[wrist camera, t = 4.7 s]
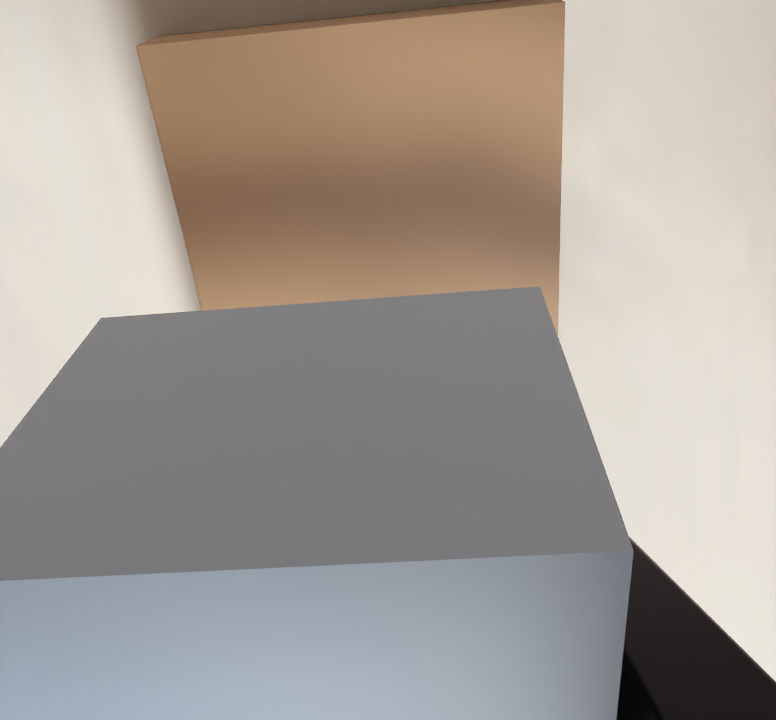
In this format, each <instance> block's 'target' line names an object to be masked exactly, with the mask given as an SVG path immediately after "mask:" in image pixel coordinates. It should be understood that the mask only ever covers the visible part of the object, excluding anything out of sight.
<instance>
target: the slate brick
mask: <svg viewBox="0 0 776 720" xmlns="http://www.w3.org/2000/svg"><path fill="white" fill-rule="evenodd" d="M633 552H634V550H633V548H632V545H631V542H630V539H629V536H628V533H627V531H626V528H625V525H624V522H623V519H622V516H621V514H620V511H619V508H618V505H617V502H616V500H615V497H614V494H613V491H612V488H611V485H610V483H609V480H608V477H607V474H606V471H605V469H604V466H603V463H602V460H601V457H600V454H599V452H598V449H597V446H596V443H595V440H594V437H593V435H592V432H591V429H590V426H589V423H588V421H587V418H586V415H585V412H584V409H583V406H582V404H581V401H580V398H579V395H578V392H577V390H576V387H575V384H574V381H573V378H572V375H571V373H570V370H569V367H568V364H567V361H566V358H565V356H564V353H563V350H562V347H561V344H560V342H559V339H558V336H557V333H556V330H555V327H554V325H553V322H552V319H551V316H550V313H549V311H548V308H547V305H546V302H545V299H544V296H543V294H542V291H541V288H540V286H538V287H524V288H510V289H496V290H482V291H468V292H455V293H441V294H427V295H413V296H399V297H386V298H372V299H358V300H344V301H330V302H316V303H303V304H289V305H275V306H261V307H247V308H233V309H220V310H206V311H192V312H178V313H164V314H151V315H137V316H123V317H109V318H101V319H100V320H99V322H98V323H97V324H96V325H95V327H94V328H93V329H92V331H91V332H90V333H89V334H88V336H87V337H86V338H85V340H84V341H83V342H82V343H81V345H80V346H79V347H78V349H77V350H76V351H75V352H74V354H73V355H72V356H71V358H70V359H69V360H68V361H67V363H66V364H65V365H64V367H63V368H62V369H61V370H60V372H59V373H58V374H57V376H56V377H55V378H54V379H53V381H52V382H51V383H50V385H49V386H48V387H47V388H46V390H45V391H44V392H43V394H42V395H41V396H40V397H39V399H38V400H37V401H36V403H35V404H34V405H33V406H32V408H31V409H30V410H29V412H28V413H27V414H26V415H25V417H24V418H23V419H22V421H21V422H20V423H19V424H18V426H17V427H16V428H15V430H14V431H13V432H12V433H11V435H10V436H9V437H8V439H7V440H6V441H5V443H4V444H3V445H2V446H1V448H0V720H616V718H617V708H618V698H619V688H620V679H621V669H622V659H623V650H624V640H625V630H626V620H627V611H628V601H629V591H630V581H631V572H632V562H633Z"/></svg>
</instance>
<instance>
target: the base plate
mask: <svg viewBox="0 0 776 720" xmlns="http://www.w3.org/2000/svg"><path fill="white" fill-rule="evenodd" d="M564 26H565V2H564V1H562V0H506V1H497V2H487V3H477V4H468V5H458V6H448V7H439V8H429V9H419V10H410V11H400V12H390V13H381V14H371V15H362V16H352V17H342V18H333V19H323V20H313V21H304V22H294V23H284V24H275V25H265V26H255V27H246V28H236V29H226V30H217V31H207V32H197V33H188V34H178V35H168V36H159V37H155V38H153V39H151V40H149V41H146V42H144V43H142V44H140V45H138V46H136V47H137V51H138V55H139V59H140V63H141V67H142V71H143V75H144V79H145V83H146V87H147V92H148V96H149V100H150V104H151V108H152V112H153V116H154V120H155V124H156V128H157V132H158V136H159V140H160V144H161V148H162V152H163V156H164V160H165V164H166V168H167V172H168V176H169V180H170V184H171V188H172V192H173V196H174V200H175V204H176V208H177V212H178V216H179V220H180V224H181V228H182V232H183V236H184V240H185V244H186V248H187V252H188V256H189V260H190V264H191V268H192V272H193V276H194V280H195V284H196V288H197V292H198V296H199V300H200V304H201V308H202V311H206V310H220V309H233V308H247V307H261V306H275V305H289V304H303V303H316V302H330V301H344V300H358V299H372V298H386V297H399V296H413V295H427V294H441V293H455V292H468V291H482V290H496V289H510V288H524V287H538V286H540V288H541V291H542V294H543V296H544V299H545V302H546V305H547V308H548V311H549V313H550V316H551V319H552V322H553V325H554V327H555V330H556V333H557V336H558V298H559V253H560V207H561V162H562V117H563V72H564Z"/></svg>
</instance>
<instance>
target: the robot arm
mask: <svg viewBox="0 0 776 720" xmlns="http://www.w3.org/2000/svg"><path fill="white" fill-rule="evenodd" d="M629 539H630V542H631V545H632V548H633V550H634V552H633V562H632V572H631V581H630V591H629V601H628V611H627V620H626V630H625V640H624V650H623V659H622V669H621V679H620V688H619V698H618V708H617V718H616V720H776V682H775V681H774V680H773V679H772V678H771V677H770V676H769V675H768V674H767V673H766V672H765V671H764V670H763V669H762V668H761V667H760V666H759V665H758V664H757V663H756V662H755V661H754V660H753V659H752V658H751V657H750V656H749V655H748V654H747V653H746V652H745V651H744V650H743V649H742V648H741V647H740V646H739V645H738V644H737V643H736V642H735V641H734V640H733V639H732V638H731V637H730V636H729V635H728V634H727V633H726V632H725V631H724V630H723V629H722V628H721V627H720V626H719V625H718V624H717V623H716V622H715V621H714V620H713V619H712V618H711V617H710V616H709V615H708V614H707V613H706V612H705V611H704V610H703V609H702V608H701V607H700V606H699V605H698V604H697V603H696V602H695V601H694V600H693V599H692V598H691V597H690V596H688V595H687V594H686V593H685V592H684V591H683V590H682V589H681V588H680V587H679V586H678V585H677V584H676V583H675V582H674V581H673V580H672V579H671V578H670V577H669V576H668V575H667V574H666V573H665V572H664V571H663V570H662V569H661V568H660V567H659V566H658V565H657V564H656V563H655V562H654V561H653V560H652V559H651V558H650V557H649V556H648V555H647V554H646V553H645V552H644V551H643V550H642V549H641V548H640V547H639V546H638V545H637V544H636V543H635V542H634V541H633V540H632V539H631V538H630V537H629Z"/></svg>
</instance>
